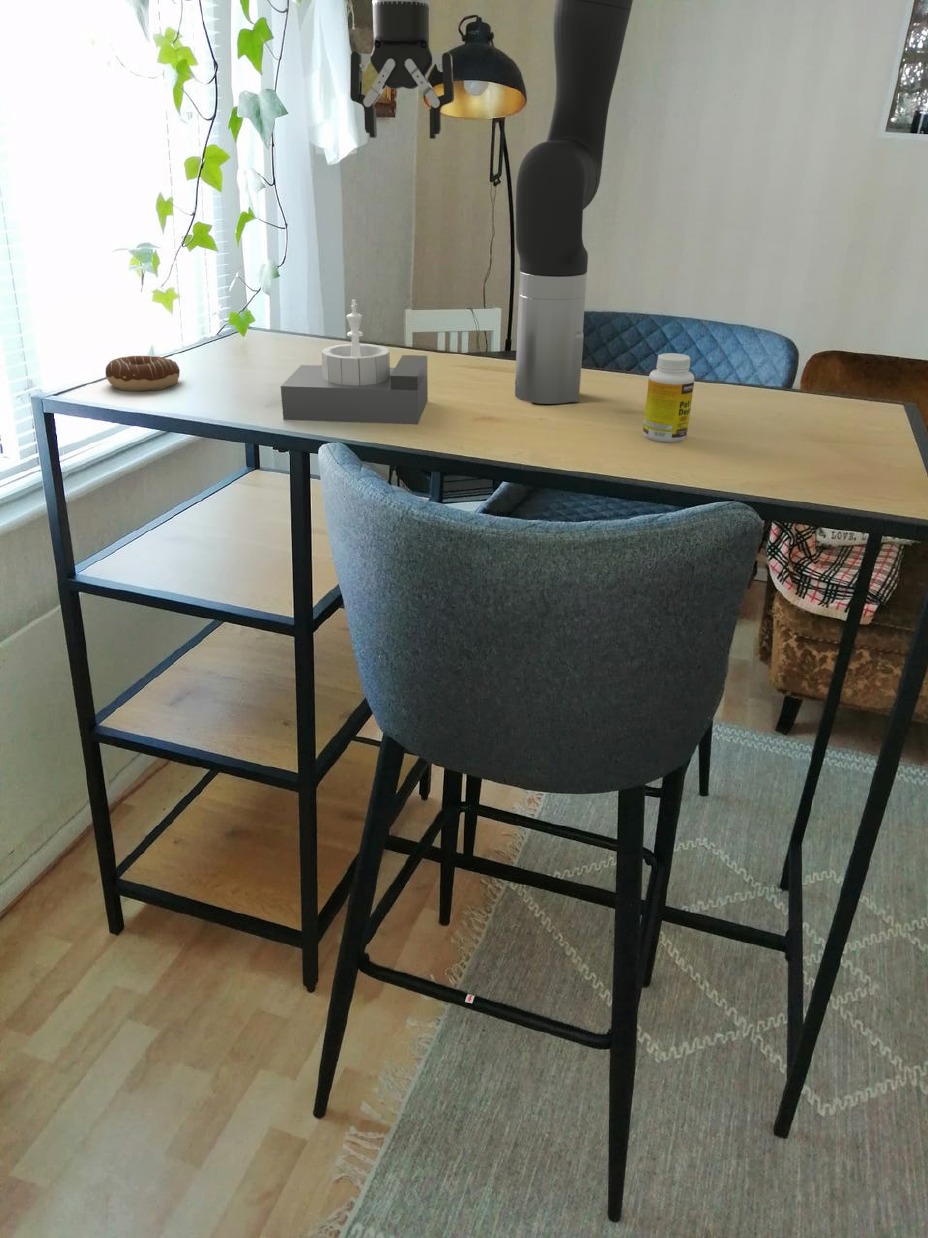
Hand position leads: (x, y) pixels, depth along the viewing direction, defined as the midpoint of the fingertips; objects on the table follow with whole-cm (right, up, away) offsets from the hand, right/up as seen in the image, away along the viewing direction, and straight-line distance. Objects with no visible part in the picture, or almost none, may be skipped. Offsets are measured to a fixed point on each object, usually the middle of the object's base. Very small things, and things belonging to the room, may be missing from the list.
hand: (403, 137), depth 132 cm
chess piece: (-6, -35, -5) cm, 36 cm away
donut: (-39, -33, +8) cm, 52 cm away
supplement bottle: (+34, -45, -13) cm, 58 cm away
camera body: (-6, -39, -3) cm, 40 cm away
